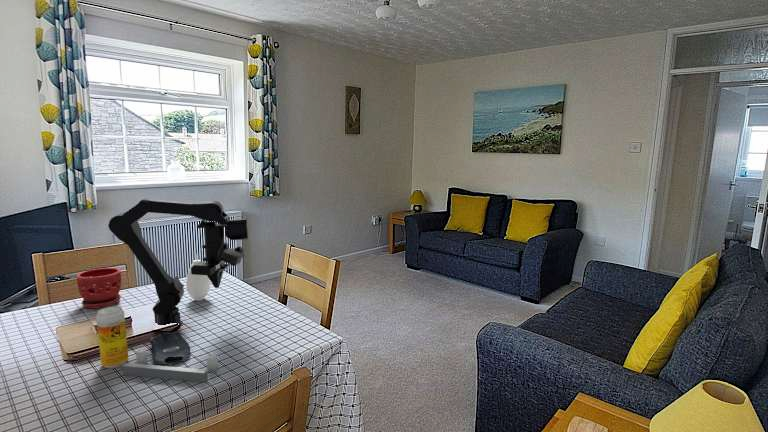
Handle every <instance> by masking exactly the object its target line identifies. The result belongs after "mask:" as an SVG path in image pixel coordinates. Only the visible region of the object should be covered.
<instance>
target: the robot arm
mask: <svg viewBox="0 0 768 432" xmlns="http://www.w3.org/2000/svg"><path fill="white" fill-rule="evenodd" d="M148 213H153V214H166V215H179V216H191V217H193V218H196V219H200V220H201V222H200V223H198V224H197V226H196V228H197V229H203V232H204V233H203V234H204V244H202V245H201V247H202V249H204V250H205V251H204V252H205V253H204V254H205V256H204V257H202V261H201V262H199V263H197V264H195V265H193V266H192V267H191V266H190V267H191V274H194V275H207V276H208V278H209V279H210V283H211V284H212V286H213V287H214V288H215V289H218V288H220V287H221V286H220V285H221V282H222V277H223V274H224V271H225V270H226V269H227V268H228V267H230V266H233V267H236V266H237V265H238V264H241V262H242V259H243V258H244V257H245V252H244V248H243V247H242V246H241V245H238V246H236V247H235V248H233V247H232V248H230V247H229V243H228V242H225V237H226V238H227V239H229V241H241V240H242V241H243V240H244V241H245V240H249V226H248V219H247V218H238V219H236V218H232V219H231V218H230V216H229V215H227V213H226V212H225V211H224V205H222V204H221V202H220V201H217V200H203V201H202V200H201V201H195V202H189V201H178V200H176V201H175V200H165V199H154V198H150V197H145V198H144V199H141V200H139V202H138V203H137V204H135V205H134V206H133V207H130V209H129V210H127V211H125V212H124V211H123V212H121V213H118V214H117V215H114V216H113V217H111V218H110V219H109V222H108V225H107V226H108V229H109V231H110V232H111V233H112V234H113V235H114V236H115V237H116V238H117V239H118V240H120V241H121V242H123V243H124V244H125V245H127V246H128V248H129V249H130V250H131V252H132V253H133V255H134V257H135V258H136V259H137V261H138V262H139V264H140V265H141V266H142V268H143V269H144V271H145V272H146V274H147V275H148V276H149V278H150V279H151V281H152V282H153V285H154V287H155V292H156V295H157V297H158V299H157V301H156V302H155V304H154V306H153V307H152V312H153V314H154V315H153V316H154V324H155V323H157V324H158V325H166V324H170V323H179V325H180V326H181V325H182V324H184V323H183V321H181V313H180V312H181V311H180V310H179V307H177V306H178V305H179V304H180V302H181V300H182V298H183V296H184V294H185V290H184V287H185V284H183V283H182V282H181V280H180V277H179V276H178V275H176V276H174V277H172V276H171V275H170V274H168V272H167V271H166V270H165V268H164V266H163V265H162V264H161V262H160V261H159V260H158V258H157V255H155V253H154V252H153V250H152V249H151V247H150V246H149V244H148V243H147V242H146V240H145V239H144V236H143V233H142V229H141V226H140V224H139V222H138V221H139V220H140V219H142V218H143V217H144V216H146V215H148ZM224 228H225V230H224ZM179 311H180V312H179Z"/></svg>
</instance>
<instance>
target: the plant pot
mask: <svg viewBox="0 0 768 432" xmlns="http://www.w3.org/2000/svg"><path fill="white" fill-rule="evenodd" d="M76 282H77V283H76V284H77V288H78V289H77V290H78V293H79V295H80V296H81V298H82V299H83V300H82V301H81V305H82V306H84V307H85V308H89V309H103V308H107V307H111V306H112V305H114V304H117V303H118V302H119V301H120V300H121V296H122V295H121V294H119V293H120V291H121V287H122V270H121V269H120V268H118V267H101V268H95V269H89V270H86V271H85V270H84V271H83V272H80V273H78V274H77V275H76Z"/></svg>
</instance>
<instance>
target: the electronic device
mask: <svg viewBox="0 0 768 432" xmlns="http://www.w3.org/2000/svg"><path fill="white" fill-rule="evenodd" d="M182 335H183V332H182V330H177V331H172V332H162V334H160V333H159V334H158V335H155V336H152V337H150V339H149V343H150V345H151V349H152V353H153V355H152V360H153V362H154V363H156V365H157V364H158V365H160V366H169V367H171V366H172V365H174V364H178V363H180V362H182V361H184V360H185V359H187V358H188V357H189V356H190V354H191V347H190V344H189V343H188V342H187V340H186V339H185V338H184V337H183V336H182ZM180 358H182V359H181V360H179V361H177V362H173V361H176V360H178V359H180ZM168 362H171V363H168ZM172 362H173V363H172Z"/></svg>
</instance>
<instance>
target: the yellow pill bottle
mask: <svg viewBox="0 0 768 432" xmlns="http://www.w3.org/2000/svg"><path fill="white" fill-rule="evenodd" d="M125 318H126V317H125V311H124V310H123V308H122V307H121V306H118V305H117V306H112V305H111V306H107V307H105V308H103V307H102V308H100V309H99V310H98V311H97V314H96V327H97V329H96V330H97V335H98V336H97V337H98V346H99V354H100V364H101V366H103V367H104V368H106V369H115V368H119V367H122V365H124V364H125V363H127V361H128V360H129V351H128V350H129V347H128V338H127V331H126V330H127V328H126V319H125Z"/></svg>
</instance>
